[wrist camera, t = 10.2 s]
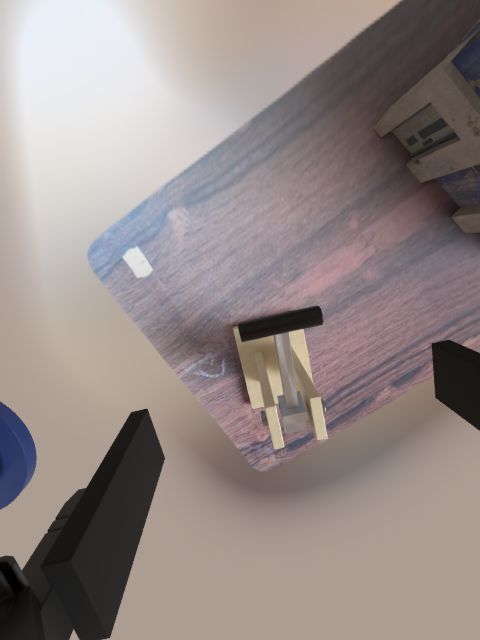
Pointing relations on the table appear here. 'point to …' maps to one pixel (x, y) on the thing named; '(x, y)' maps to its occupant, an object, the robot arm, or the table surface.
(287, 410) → the lever
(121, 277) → the table surface
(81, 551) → the robot arm
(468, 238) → the table surface
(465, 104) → the building
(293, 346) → the bracket
